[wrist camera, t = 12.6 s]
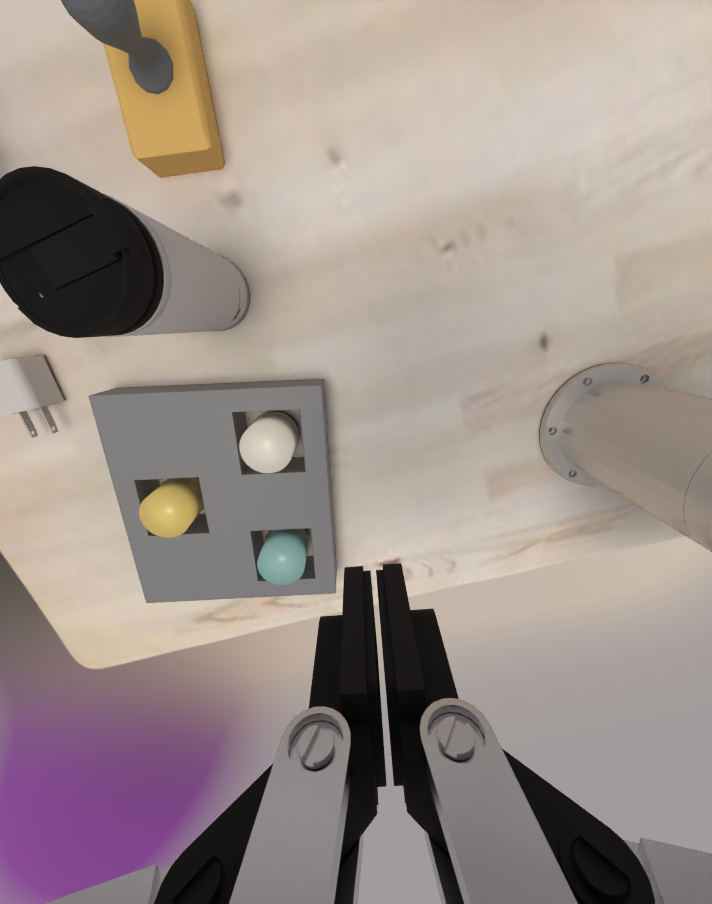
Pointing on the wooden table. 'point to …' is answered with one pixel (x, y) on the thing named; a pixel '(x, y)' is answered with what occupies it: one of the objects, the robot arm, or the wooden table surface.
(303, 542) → the teal button
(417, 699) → the robot arm
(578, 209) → the wooden table surface
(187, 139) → the rubber stamp
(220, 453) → the console
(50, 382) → the usb wall charger
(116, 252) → the travel mug
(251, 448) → the ivory button
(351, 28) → the wooden table surface
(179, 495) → the mustard button
